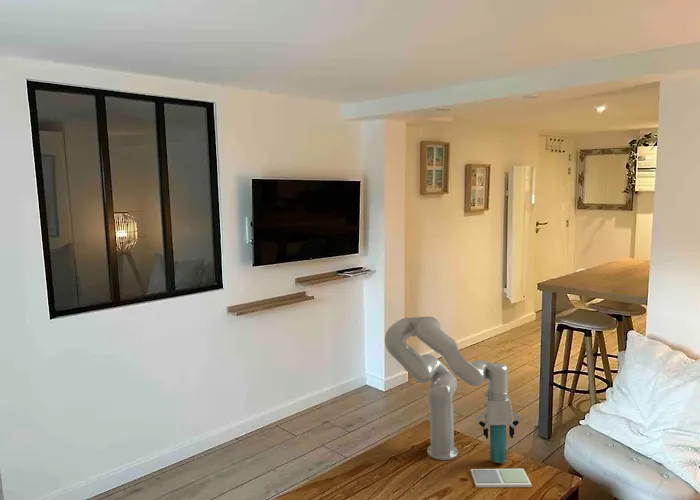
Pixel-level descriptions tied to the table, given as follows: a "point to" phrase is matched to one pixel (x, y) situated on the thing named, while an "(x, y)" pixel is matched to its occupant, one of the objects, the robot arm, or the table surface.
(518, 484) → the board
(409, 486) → the table surface
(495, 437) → the beverage bottle
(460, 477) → the table surface
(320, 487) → the table surface
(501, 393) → the robot arm
